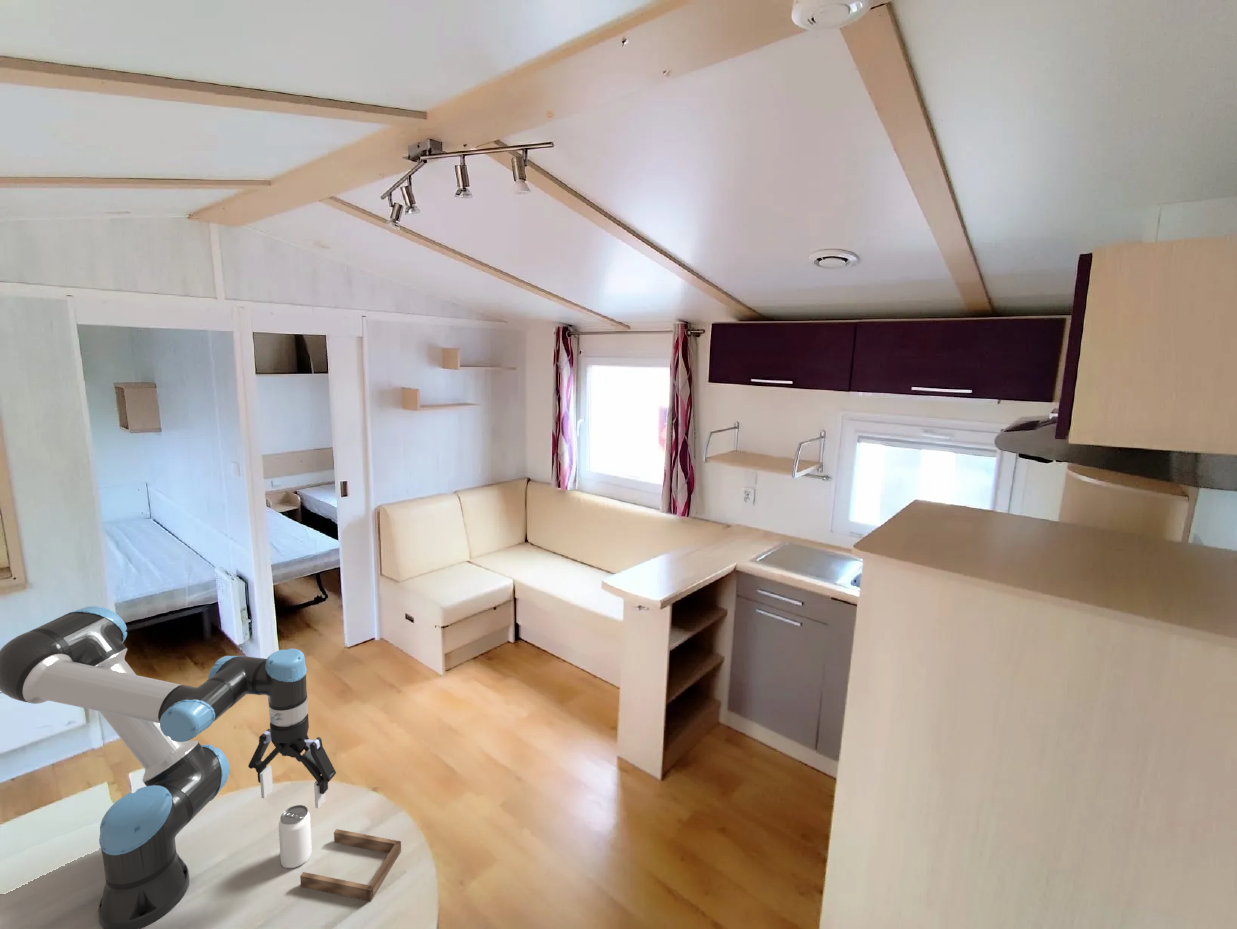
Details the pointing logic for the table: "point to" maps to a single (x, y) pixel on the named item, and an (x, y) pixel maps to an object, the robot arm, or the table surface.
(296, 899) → the table surface
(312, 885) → the open wooden frame
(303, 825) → the can
